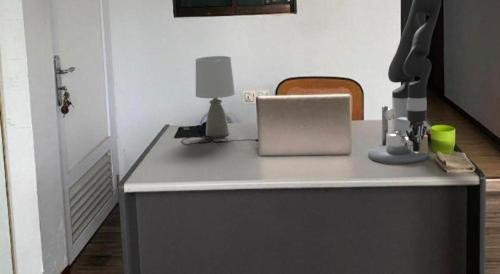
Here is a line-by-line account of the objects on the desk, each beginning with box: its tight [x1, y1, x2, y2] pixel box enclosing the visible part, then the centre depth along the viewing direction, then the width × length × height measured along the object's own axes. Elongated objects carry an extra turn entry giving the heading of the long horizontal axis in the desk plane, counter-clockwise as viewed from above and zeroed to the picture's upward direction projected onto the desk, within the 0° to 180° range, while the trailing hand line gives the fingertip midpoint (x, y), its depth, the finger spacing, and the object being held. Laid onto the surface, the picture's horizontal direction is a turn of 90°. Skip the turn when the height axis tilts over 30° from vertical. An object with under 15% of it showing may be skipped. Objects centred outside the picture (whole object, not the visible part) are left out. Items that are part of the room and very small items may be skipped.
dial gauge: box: [379, 105, 396, 146], centre depth 322 cm, size 8×10×18 cm
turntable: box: [367, 134, 429, 165], centre depth 311 cm, size 24×24×9 cm
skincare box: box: [397, 117, 413, 146], centre depth 328 cm, size 6×4×12 cm
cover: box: [386, 131, 411, 155], centre depth 310 cm, size 10×10×8 cm
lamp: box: [195, 55, 236, 138], centre depth 362 cm, size 19×19×37 cm
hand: (416, 151), depth 304 cm, fingers closed
